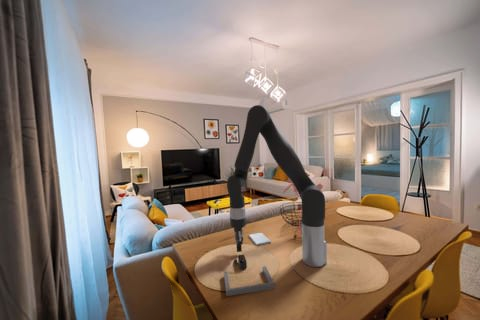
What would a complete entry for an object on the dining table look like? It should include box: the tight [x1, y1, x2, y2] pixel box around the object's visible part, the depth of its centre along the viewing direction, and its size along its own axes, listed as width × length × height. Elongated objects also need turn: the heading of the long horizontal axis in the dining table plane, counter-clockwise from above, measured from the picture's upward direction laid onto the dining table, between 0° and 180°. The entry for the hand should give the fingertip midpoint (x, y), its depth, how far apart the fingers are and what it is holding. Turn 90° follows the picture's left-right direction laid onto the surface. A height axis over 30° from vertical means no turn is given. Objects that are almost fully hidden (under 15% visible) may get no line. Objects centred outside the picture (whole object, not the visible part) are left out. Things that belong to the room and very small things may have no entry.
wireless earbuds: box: [233, 254, 248, 270], centre depth 88 cm, size 5×7×3 cm, turn 11°
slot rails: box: [223, 265, 275, 297], centre depth 77 cm, size 17×11×2 cm, turn 99°
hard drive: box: [248, 232, 272, 247], centre depth 112 cm, size 2×8×12 cm
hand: (239, 251), depth 97 cm, fingers closed
